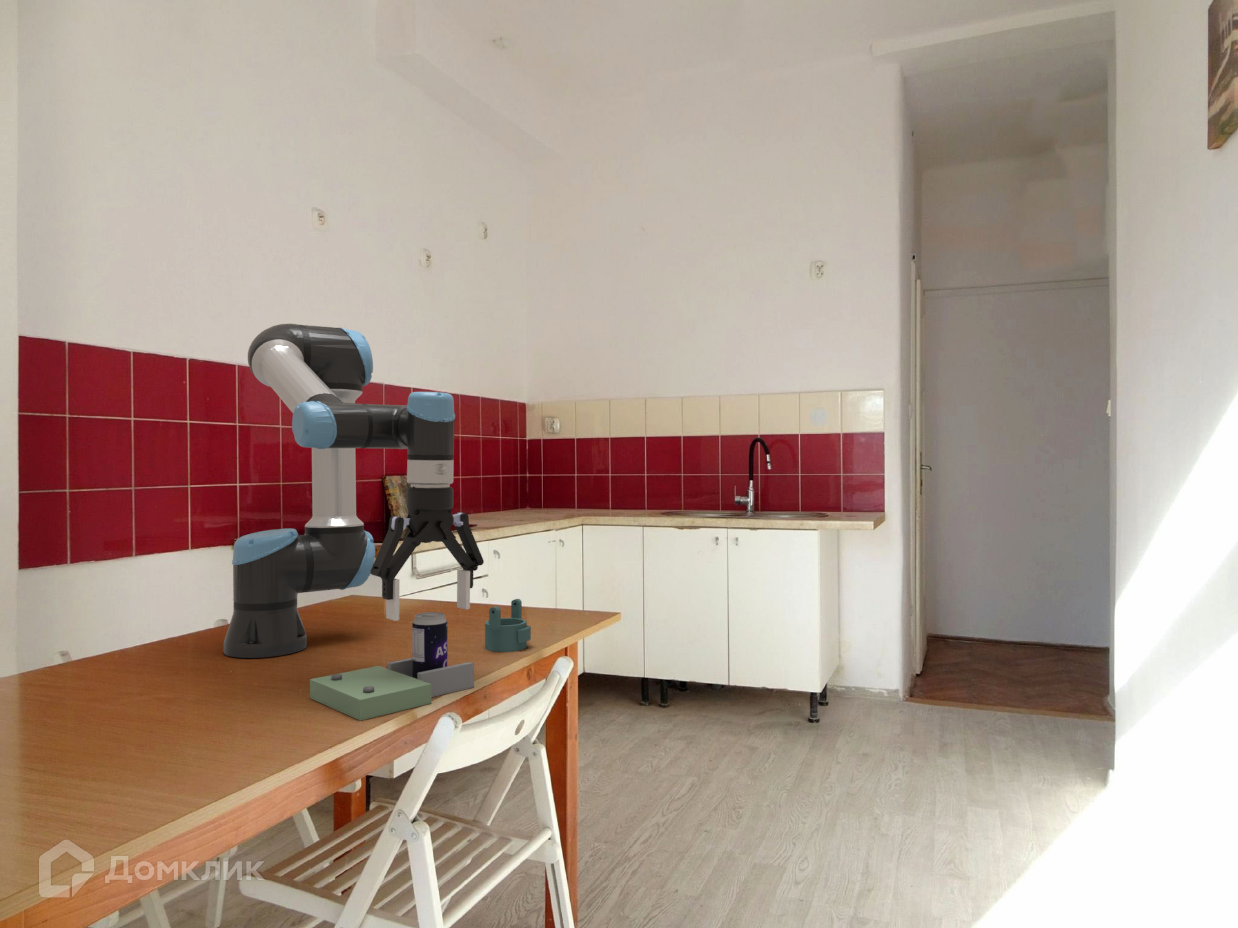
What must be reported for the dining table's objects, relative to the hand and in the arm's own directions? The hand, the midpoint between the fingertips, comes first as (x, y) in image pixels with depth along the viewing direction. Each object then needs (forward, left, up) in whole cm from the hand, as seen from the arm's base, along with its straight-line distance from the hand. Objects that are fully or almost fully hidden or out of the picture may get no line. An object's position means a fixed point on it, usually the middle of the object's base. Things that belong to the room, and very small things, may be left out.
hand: (429, 613), depth 141 cm
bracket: (-14, +27, -12) cm, 33 cm away
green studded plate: (0, -6, -12) cm, 14 cm away
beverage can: (0, 0, -12) cm, 12 cm away
